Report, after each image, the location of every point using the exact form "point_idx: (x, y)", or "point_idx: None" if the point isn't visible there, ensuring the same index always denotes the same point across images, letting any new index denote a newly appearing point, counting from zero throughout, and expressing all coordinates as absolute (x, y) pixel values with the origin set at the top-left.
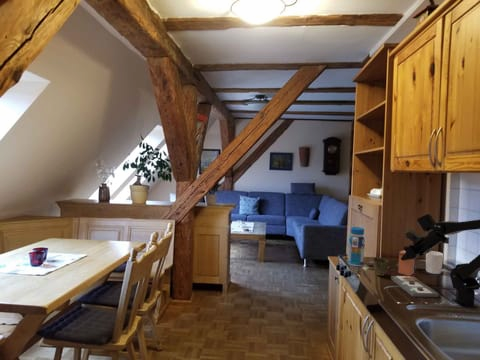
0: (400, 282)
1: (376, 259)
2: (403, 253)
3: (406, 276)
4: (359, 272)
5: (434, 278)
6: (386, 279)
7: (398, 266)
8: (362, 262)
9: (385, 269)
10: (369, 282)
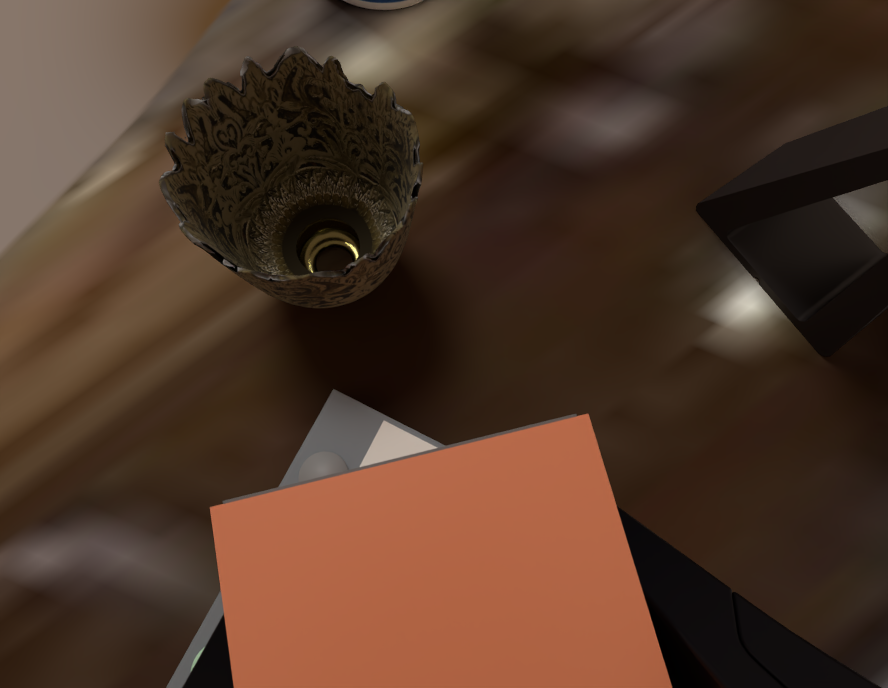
0: None
1: (329, 84)
2: (239, 662)
3: None
4: None
5: (860, 595)
6: (280, 381)
7: (718, 203)
8: None
9: (300, 304)
10: (4, 366)
